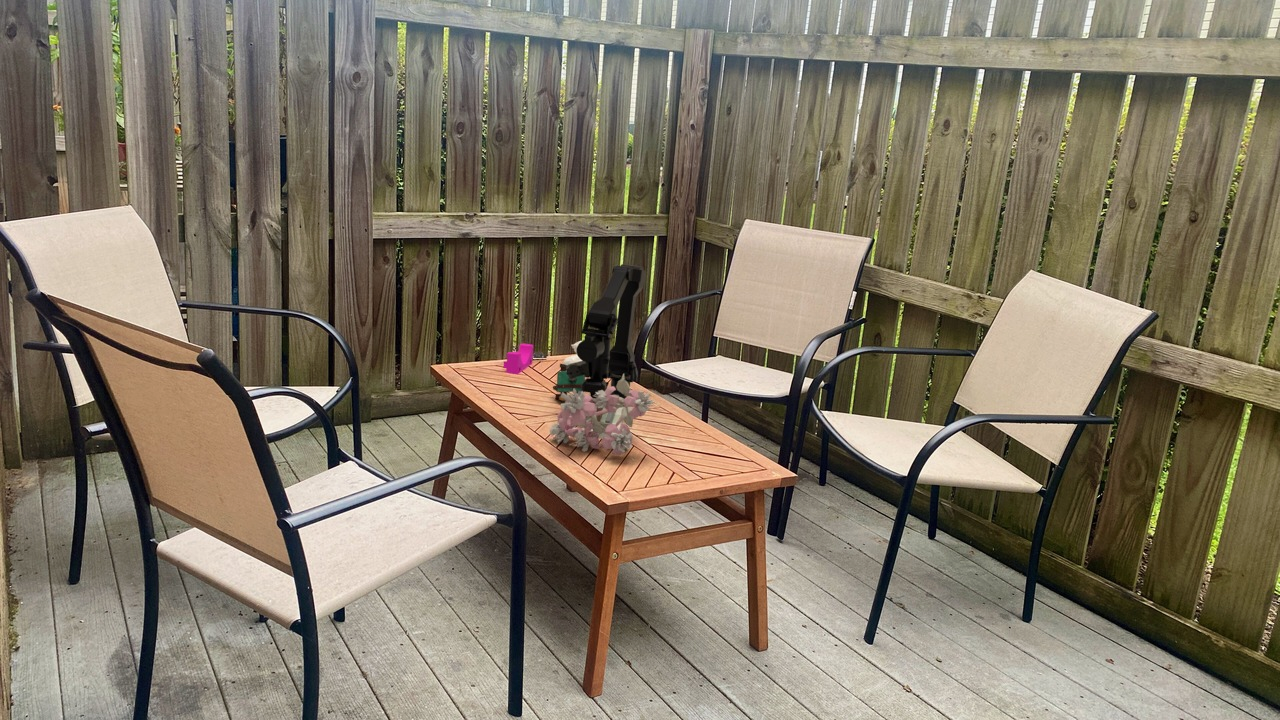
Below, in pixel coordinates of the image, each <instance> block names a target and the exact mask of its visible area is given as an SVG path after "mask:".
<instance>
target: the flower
mask: <svg viewBox="0 0 1280 720" xmlns="http://www.w3.org/2000/svg"><path fill="white" fill-rule="evenodd" d="M616 388H617V390H618V391H620V392H621V393H622V394H624V395H625V396H627V397H626V398H625V399H624V398H621V397H619V396H616V395H610V394H611V393H612V392H613V391H614V390H616V389H615V387H614V386H612V387H611V386H609V387H607V389H606V391H605V392H604V391H603V390H600V391H598V392H599V393H598V392H595V393H596V394H597V396H594V397H596V398H592V397H591V396H590V394H587V393H585V392H583V391H582V392H581V394H580V396H579V395H578V394H577V391H576V390H575V389H573V392H569V393H567V395H566V394H564V393H563V392H562V394H561V398H564V399H566V400H565V401H564V403H560V407H561V411H560V412H559V413H558V414H557V423H554V424H552V425H551V427H550V428H549V436H551V437H552V439H551V440H550V441H554V440H556V442H557V444H558V445H559V444H560V443H561V442H562V443H563V444H567V443H568V442H569V441H570V438H573V440H577V441H575V442H572V443H568V444H569V446H572V445H573V444H575V446H576V447H577V448H579V447H581V451H582V452H588V450H589V446H591V448H592V449H594V450H600V448H601V447H602V448H603V449H605V450H609V449H612V452H611V454H612V455H616V456H617V455H618V456H620V455H623V453H625V452H626V451H628V450H630V449H631V448H632V447H633V444H632V443H633V438H634V435H633V433H632V432H631V429H630V428H633V422H634V419H636V418H639V417H643V416H645V414H646V412H647V411H650V410H652V408H651V406H652V407H653V406H654V405H653V403H655V401H654V399H650V397H652V394H651V393H650V392H646V394H645V391H643V390H641V391H638V389H631V385H630V386H629V384H628V382H627V381H625V380H624V374H623V376H622V379H621V380H619V381H618V383H617V386H616ZM596 394H595V395H596ZM573 395H574V396H573ZM592 401H594V402H595V403H596V402H597V403H596V404H595V403H591V402H592ZM622 407H624V408H623V409H622V412H621V417H620V418H619V420H618V421H617V423H616V424H611V423H599V422H598V421H597V416H600V415H603V414H605V413H608V412H615V410H616V409H618V408H622ZM632 407H633V408H632ZM597 408H605V410H602V411H599V412H596V411H597ZM571 413H572V416H570V414H571ZM622 420H623V422H624V423H622V424H621V429H620V431H619V429H618V428H617V426H618V425H619V424H620V423H621V422H622ZM558 424H559V425H558ZM583 424H585V427H584V432H585V434H584V433H582V432H583V429H582V428H583V426H580V427H578V426H577V425H583ZM575 425H576V426H575ZM573 427H574V428H576V429H572V428H573ZM592 429H593V431H592V432H590V431H591V430H592ZM602 433H606V434H607V435H608V436H610V437H603V439H601V441H600V438H598V437H599V435H600V434H602ZM600 442H601V444H599V443H600Z"/></svg>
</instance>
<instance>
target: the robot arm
mask: <svg viewBox="0 0 1280 720" xmlns="http://www.w3.org/2000/svg"><path fill="white" fill-rule="evenodd" d="M611 273H612V274H611V276H610V277H609V280H608V283H607V285H606V287H605V290H604V291H603V294H602V296H601V297H600V299H599V300H597V301H595V302H593V303H592V305H591V306H590V308H589V310H588V311H587V313H586V315H585V317H584V318H585V319H584V322H583V325H582V329H581V334H582V335H584V339H583V340H582V342H580V343H579V344H578V346H577V349H576V351H577V355H578V357H579V358H580V359H581V360H582V361H580V362H576V363H572V364H569V365H567V367H566V371H567V373H566V374H567V375H568V377H569V379H573V378H574V377H578V376H582V375H585V380H584V381H583V383H582V389H581V391H583V392H584V393H589V395H590V396H591V397H592V398H596V397H594V396H597V394H596V393H595V392H598V391H600V390H603V391H604V392H605V391H606V389H607V388H608V386H609V382H608V381H606V380H607V379H610V387H612V386H614V387H615V389H616V390H614V391H613V392H612V393H611V394H610V395H619V397H621V398H624V399H625V398H626V397H627V396H625V395H624V394H622V393H621V392H620V391H618V390H617V388H616V386H617V383H618V381H619V380H621V379H622V376H623V374H624V380H625V381H627V382H628V384H629V386H630V387H631V383H634V382H638V376H639V375H638V374H639V371H638V368H637V365H636V364H637V363H636V361H635V358H636V357H635V356H636V355H635V353H634V350H633V349H632V347H631V345H632V335H633V328H634V319H635V310H636V302H637V297H638V295H639V294H640V292H641V291H642V290H643V288H644V284H645V283H646V280H647V271H646V270H644V267H643V266H640V265H632V264H624V263H621V265H618V264H617V265H615V266H613V267H612V272H611ZM617 307H618V314H617ZM614 333H615V339H614V345H613V346H612V347H611V342H612V340H611V339H612V337H611V336H612V335H614ZM598 393H599V392H598ZM595 394H596V395H595Z"/></svg>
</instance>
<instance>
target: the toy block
mask: <svg viewBox="0 0 1280 720" xmlns="http://www.w3.org/2000/svg"><path fill="white" fill-rule="evenodd" d="M533 354H534V344H530V343H520V344H519V348H518V351H515V350H514V351H513V352H512V351H509V352H507V353H506V360H505V361H503V369H505V370H506V371H505V373H507V374H512V375H519V374H520V373H522V372H523V371H525V370H526V369H527V368H528V367H529V366H531V365H532V364H533V361H532V360H533Z"/></svg>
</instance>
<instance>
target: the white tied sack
mask: <svg viewBox="0 0 1280 720" xmlns="http://www.w3.org/2000/svg"><path fill="white" fill-rule="evenodd" d="M582 341H583V340H579V341H577V342H575V343H574V344H571V348H572V349H573V351H574V352H575V354H574V355H573V354H572V355H570V356H568V357H566V358H564V359H563V362H562V364H565V365H569V364H572V363H576V362H580V361H582V360H581V359H580V358H579V357H578V355H577V351H576V349H577V346H578V344H579V343H580V342H582Z"/></svg>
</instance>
